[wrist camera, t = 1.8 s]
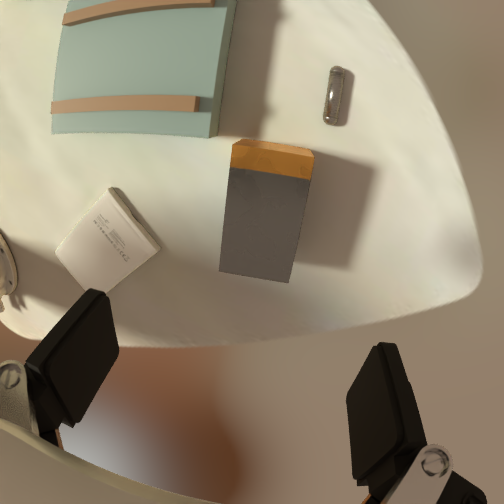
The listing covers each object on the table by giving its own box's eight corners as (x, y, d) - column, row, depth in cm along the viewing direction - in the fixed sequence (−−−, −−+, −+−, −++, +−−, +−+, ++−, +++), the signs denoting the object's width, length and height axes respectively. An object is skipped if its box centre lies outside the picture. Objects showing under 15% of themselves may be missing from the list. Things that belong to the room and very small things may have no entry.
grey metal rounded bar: (334, 126, 23) (337, 126, 22) (321, 123, 23) (322, 123, 22) (344, 68, 20) (346, 66, 19) (330, 65, 20) (332, 63, 19)
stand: (217, 135, 24) (204, 139, 20) (69, 130, 25) (43, 136, 21) (239, -11, 18) (230, -31, 14) (85, 6, 18) (61, -2, 14)
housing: (288, 255, 28) (288, 283, 24) (230, 244, 28) (219, 271, 24) (309, 149, 24) (314, 157, 19) (242, 138, 24) (232, 144, 19)
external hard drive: (60, 246, 32) (114, 184, 28) (101, 295, 34) (163, 246, 30) (53, 252, 30) (106, 189, 26) (95, 302, 33) (157, 253, 28)
